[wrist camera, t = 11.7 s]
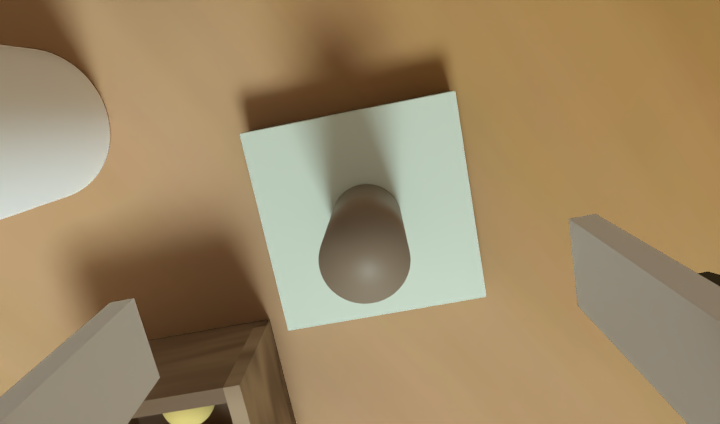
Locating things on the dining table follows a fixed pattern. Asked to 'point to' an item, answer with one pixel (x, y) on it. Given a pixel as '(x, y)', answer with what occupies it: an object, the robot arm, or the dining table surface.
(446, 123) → the lid
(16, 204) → the cup
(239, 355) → the box
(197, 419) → the ball
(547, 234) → the dining table surface
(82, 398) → the robot arm
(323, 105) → the dining table surface
